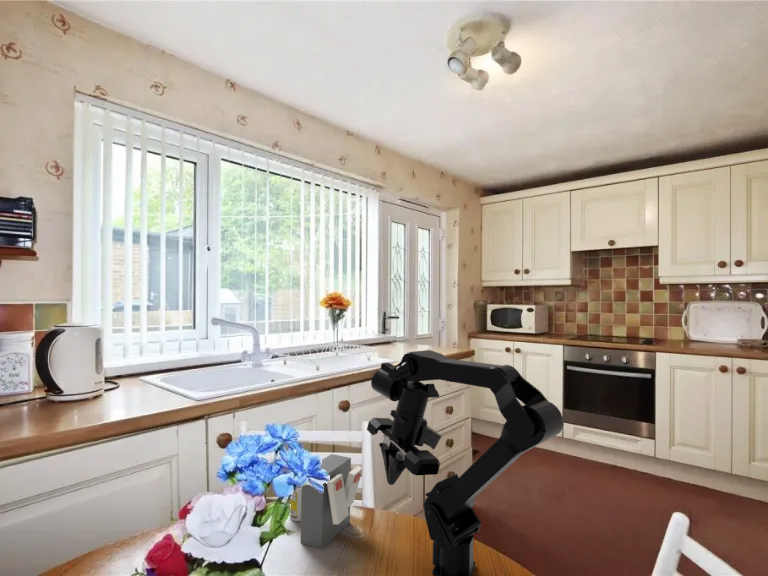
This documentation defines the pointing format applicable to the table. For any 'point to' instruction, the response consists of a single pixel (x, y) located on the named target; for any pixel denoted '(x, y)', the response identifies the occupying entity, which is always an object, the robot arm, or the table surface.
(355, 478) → the block
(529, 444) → the robot arm
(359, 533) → the table surface
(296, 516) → the supplement bottle
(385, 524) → the table surface
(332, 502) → the block
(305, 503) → the switch box
